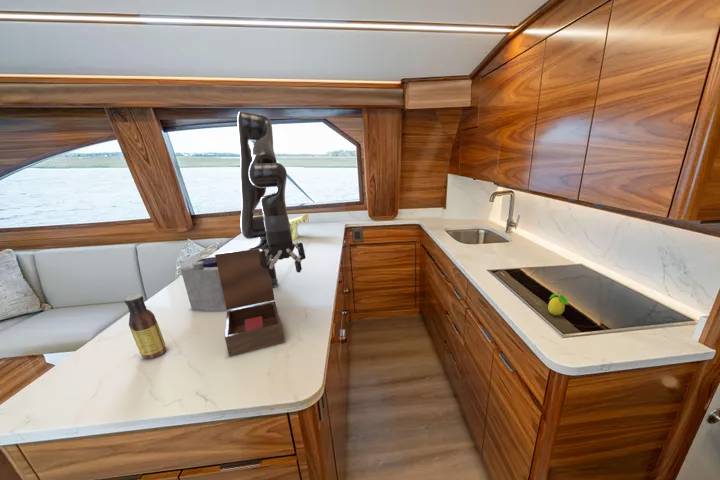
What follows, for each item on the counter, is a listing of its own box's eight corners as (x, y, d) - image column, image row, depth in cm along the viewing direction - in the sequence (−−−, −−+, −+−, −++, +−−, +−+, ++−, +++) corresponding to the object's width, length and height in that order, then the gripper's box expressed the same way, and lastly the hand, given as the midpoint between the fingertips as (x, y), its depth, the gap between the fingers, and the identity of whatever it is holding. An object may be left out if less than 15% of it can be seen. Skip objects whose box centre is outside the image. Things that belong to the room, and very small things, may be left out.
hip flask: (231, 307, 121) (221, 261, 115) (225, 312, 117) (213, 264, 111) (195, 306, 123) (183, 260, 116) (188, 310, 119) (174, 263, 112)
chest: (283, 342, 97) (280, 324, 95) (229, 356, 91) (224, 337, 88) (277, 317, 113) (275, 301, 111) (231, 327, 106) (226, 310, 104)
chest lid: (265, 247, 106) (265, 246, 111) (214, 254, 100) (216, 252, 104) (274, 300, 110) (274, 297, 115) (226, 309, 104) (227, 306, 108)
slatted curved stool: (310, 234, 239) (307, 212, 233) (305, 239, 224) (302, 216, 218) (272, 235, 237) (268, 213, 231) (264, 240, 222) (260, 217, 216)
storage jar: (233, 289, 139) (226, 258, 134) (213, 297, 130) (205, 265, 125) (219, 285, 143) (211, 256, 138) (198, 293, 134) (190, 262, 129)
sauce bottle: (151, 348, 95) (131, 292, 88) (171, 347, 96) (153, 291, 89) (136, 361, 89) (113, 301, 82) (158, 359, 90) (137, 300, 83)
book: (265, 338, 98) (263, 327, 97) (247, 343, 96) (244, 332, 94) (263, 325, 106) (261, 315, 104) (246, 329, 103) (244, 319, 102)
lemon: (565, 321, 107) (570, 296, 104) (547, 318, 109) (551, 294, 106) (562, 312, 113) (567, 289, 110) (545, 310, 115) (549, 286, 112)
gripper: (294, 223, 103) (301, 267, 108) (251, 230, 94) (261, 278, 99) (303, 226, 97) (310, 272, 103) (258, 233, 89) (268, 284, 94)
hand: (286, 275), depth 101 cm, fingers open, 8 cm apart
